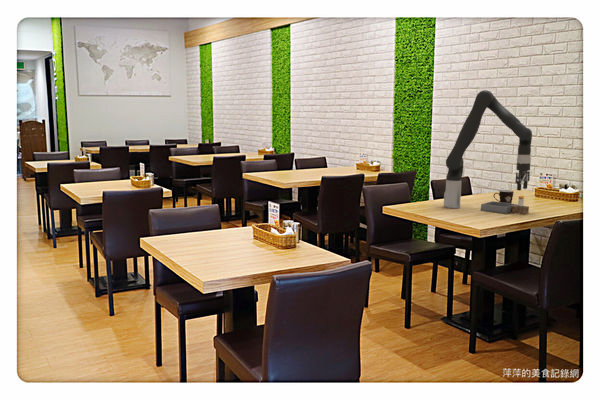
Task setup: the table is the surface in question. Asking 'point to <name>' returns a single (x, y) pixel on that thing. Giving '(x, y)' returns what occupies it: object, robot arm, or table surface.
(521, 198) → the stop pin
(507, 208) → the tray
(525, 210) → the pin block
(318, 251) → the table surface
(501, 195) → the coffee mug
